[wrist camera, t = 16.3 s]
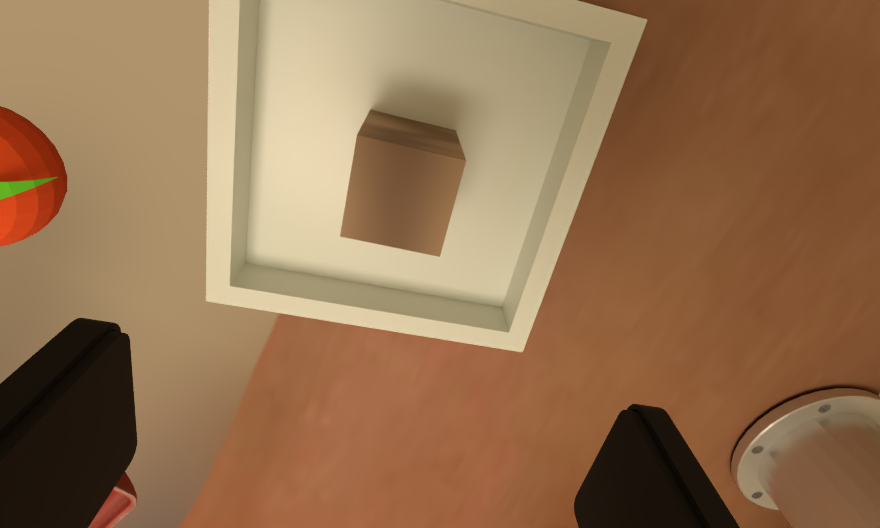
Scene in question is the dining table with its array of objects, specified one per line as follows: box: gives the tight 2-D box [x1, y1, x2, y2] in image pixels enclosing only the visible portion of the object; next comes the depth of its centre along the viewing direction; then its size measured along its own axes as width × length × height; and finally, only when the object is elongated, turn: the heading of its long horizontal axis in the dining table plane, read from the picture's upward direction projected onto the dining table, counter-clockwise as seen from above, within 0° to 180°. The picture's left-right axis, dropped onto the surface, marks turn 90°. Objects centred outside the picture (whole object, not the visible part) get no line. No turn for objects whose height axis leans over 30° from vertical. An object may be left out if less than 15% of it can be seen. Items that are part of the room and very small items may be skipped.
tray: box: [206, 0, 647, 352], centre depth 25 cm, size 18×18×4 cm
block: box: [340, 109, 466, 257], centre depth 23 cm, size 4×4×6 cm
